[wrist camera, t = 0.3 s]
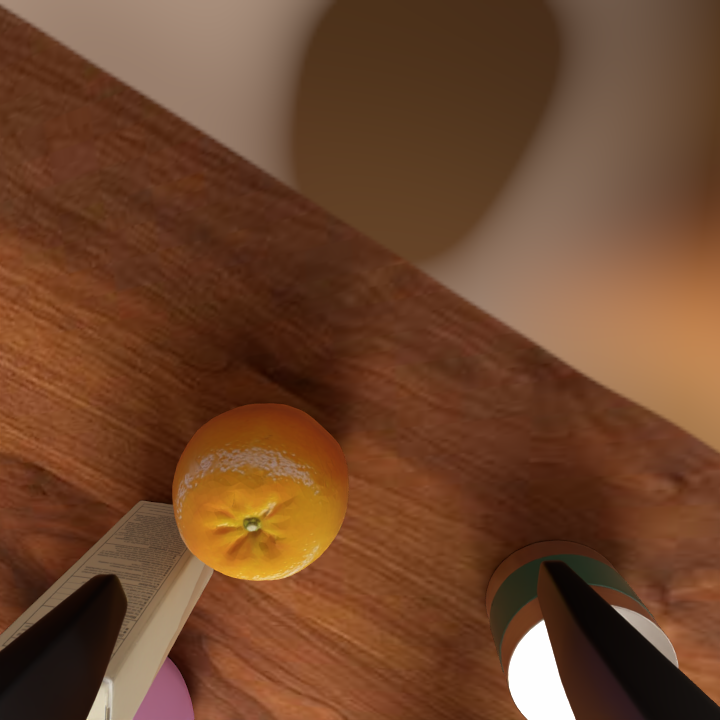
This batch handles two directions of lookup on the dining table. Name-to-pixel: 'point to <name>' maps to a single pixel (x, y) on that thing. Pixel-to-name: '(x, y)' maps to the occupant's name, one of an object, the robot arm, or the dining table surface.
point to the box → (133, 601)
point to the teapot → (166, 697)
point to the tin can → (527, 628)
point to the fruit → (260, 491)
